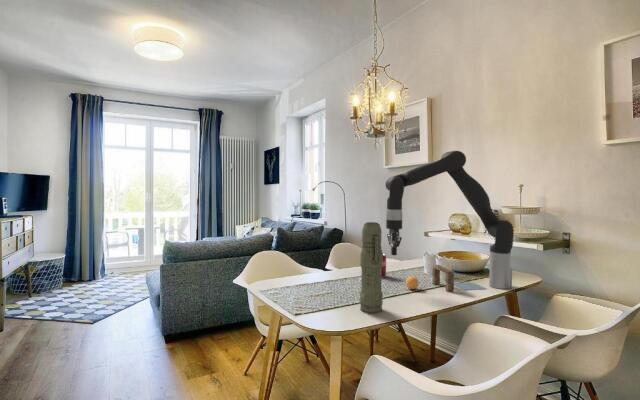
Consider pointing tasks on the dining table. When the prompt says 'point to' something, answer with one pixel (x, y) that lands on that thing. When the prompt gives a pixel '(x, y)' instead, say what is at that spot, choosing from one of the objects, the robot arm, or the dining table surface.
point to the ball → (412, 283)
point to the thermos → (371, 269)
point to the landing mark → (469, 286)
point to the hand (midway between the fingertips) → (393, 254)
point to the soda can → (383, 270)
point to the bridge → (448, 277)
